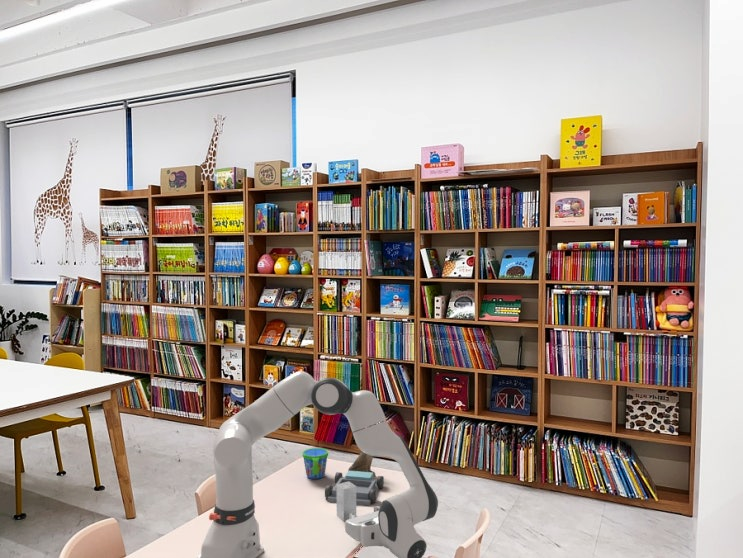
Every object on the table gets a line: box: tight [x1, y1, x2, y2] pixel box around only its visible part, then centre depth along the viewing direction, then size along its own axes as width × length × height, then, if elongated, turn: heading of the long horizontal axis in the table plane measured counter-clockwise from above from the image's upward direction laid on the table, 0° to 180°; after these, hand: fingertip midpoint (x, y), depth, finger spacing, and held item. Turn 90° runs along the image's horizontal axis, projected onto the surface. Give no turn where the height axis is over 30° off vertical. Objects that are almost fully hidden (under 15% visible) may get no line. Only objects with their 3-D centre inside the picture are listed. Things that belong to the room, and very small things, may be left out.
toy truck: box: [324, 470, 385, 506], centre depth 211 cm, size 20×19×4 cm
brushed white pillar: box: [336, 481, 357, 522], centre depth 191 cm, size 5×5×11 cm
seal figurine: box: [347, 450, 376, 478], centre depth 228 cm, size 12×6×18 cm, turn 52°
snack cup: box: [302, 447, 329, 480], centre depth 227 cm, size 16×10×10 cm
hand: (363, 512), depth 181 cm, fingers open, 8 cm apart
